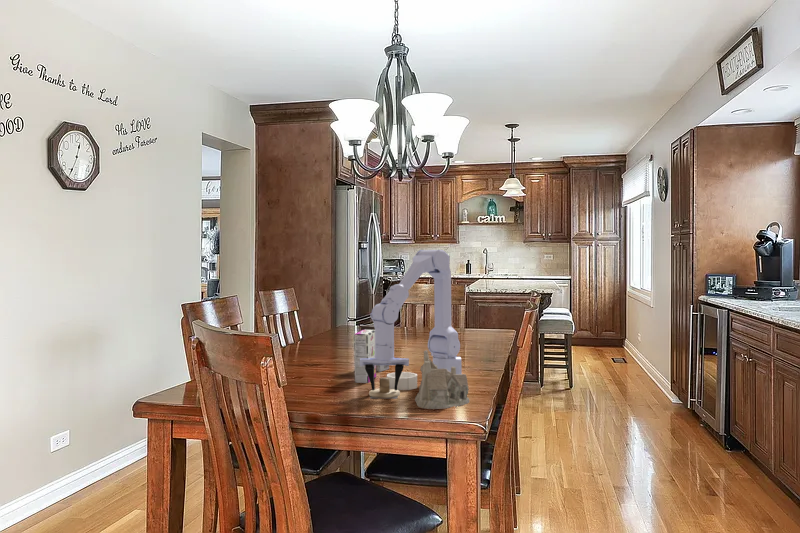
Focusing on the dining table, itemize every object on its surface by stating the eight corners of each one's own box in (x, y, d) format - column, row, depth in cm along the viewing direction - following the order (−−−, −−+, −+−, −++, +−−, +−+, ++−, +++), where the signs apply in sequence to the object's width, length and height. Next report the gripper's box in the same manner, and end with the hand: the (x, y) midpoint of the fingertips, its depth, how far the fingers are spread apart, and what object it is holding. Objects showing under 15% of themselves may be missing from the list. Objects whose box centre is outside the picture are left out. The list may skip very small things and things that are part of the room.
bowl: (417, 384, 194) (417, 372, 194) (417, 391, 184) (417, 378, 184) (387, 384, 194) (387, 372, 194) (386, 391, 185) (386, 378, 185)
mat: (398, 392, 183) (398, 390, 183) (397, 399, 173) (397, 398, 173) (372, 391, 184) (372, 390, 184) (369, 399, 174) (369, 398, 174)
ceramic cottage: (414, 409, 162) (417, 354, 162) (415, 397, 178) (418, 347, 178) (472, 414, 161) (475, 358, 161) (467, 401, 177) (470, 350, 178)
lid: (400, 391, 183) (400, 375, 183) (399, 398, 174) (399, 381, 174) (370, 390, 183) (370, 375, 183) (368, 398, 174) (367, 381, 174)
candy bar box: (362, 376, 207) (362, 329, 206) (376, 377, 206) (376, 329, 205) (353, 383, 196) (353, 333, 195) (368, 384, 195) (368, 333, 194)
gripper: (358, 346, 174) (359, 392, 175) (408, 346, 174) (408, 392, 174) (360, 342, 181) (361, 387, 182) (408, 342, 181) (409, 387, 181)
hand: (384, 389), depth 178 cm, fingers open, 6 cm apart
